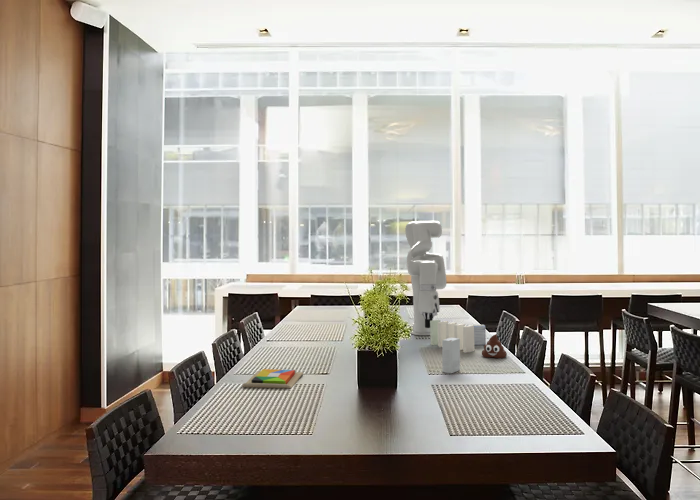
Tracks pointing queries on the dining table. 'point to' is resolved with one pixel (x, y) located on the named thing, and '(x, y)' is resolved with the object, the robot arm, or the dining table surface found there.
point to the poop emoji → (494, 348)
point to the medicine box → (479, 334)
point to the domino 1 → (434, 332)
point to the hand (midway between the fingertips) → (428, 327)
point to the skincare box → (451, 355)
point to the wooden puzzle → (273, 379)
